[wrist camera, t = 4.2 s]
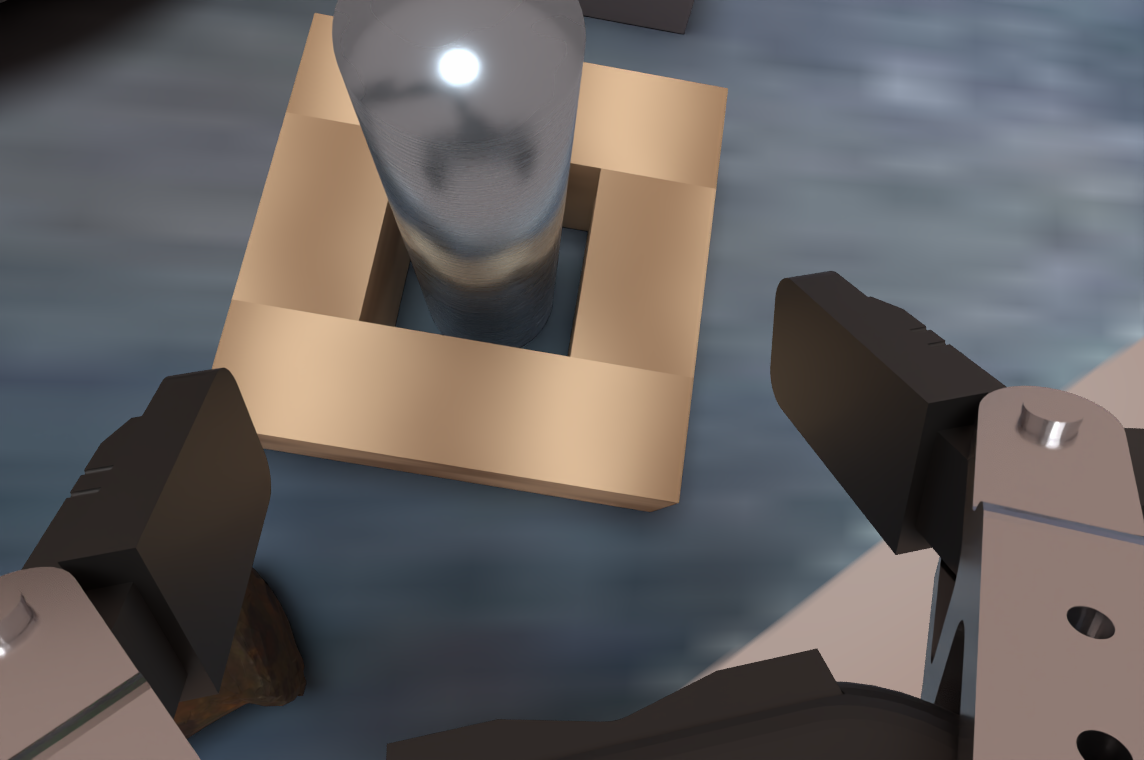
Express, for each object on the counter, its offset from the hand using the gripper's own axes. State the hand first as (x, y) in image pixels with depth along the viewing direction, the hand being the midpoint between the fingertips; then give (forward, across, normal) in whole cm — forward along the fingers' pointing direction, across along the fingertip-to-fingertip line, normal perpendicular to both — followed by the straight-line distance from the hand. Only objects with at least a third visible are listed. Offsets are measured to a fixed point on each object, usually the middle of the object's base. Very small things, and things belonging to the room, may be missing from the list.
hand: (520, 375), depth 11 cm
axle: (+12, 0, +4) cm, 13 cm away
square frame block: (+12, 0, +4) cm, 13 cm away
